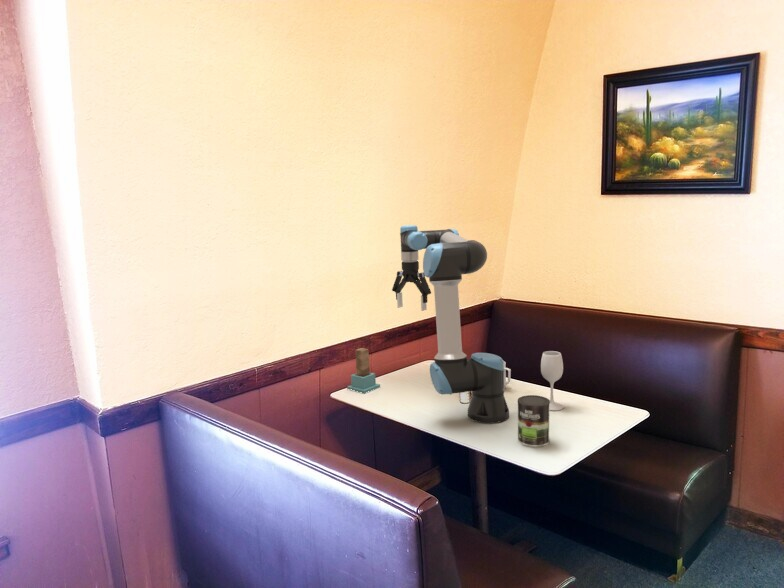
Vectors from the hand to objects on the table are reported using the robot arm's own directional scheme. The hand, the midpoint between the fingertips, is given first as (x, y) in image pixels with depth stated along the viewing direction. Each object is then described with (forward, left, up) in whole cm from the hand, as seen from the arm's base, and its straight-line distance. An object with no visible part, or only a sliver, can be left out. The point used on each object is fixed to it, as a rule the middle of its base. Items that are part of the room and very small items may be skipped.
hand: (411, 308), depth 266 cm
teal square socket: (-4, +25, -32) cm, 41 cm away
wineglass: (-57, -34, -32) cm, 74 cm away
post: (-4, +25, -30) cm, 40 cm away
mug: (-30, -26, -32) cm, 51 cm away
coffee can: (-81, -11, -32) cm, 88 cm away
